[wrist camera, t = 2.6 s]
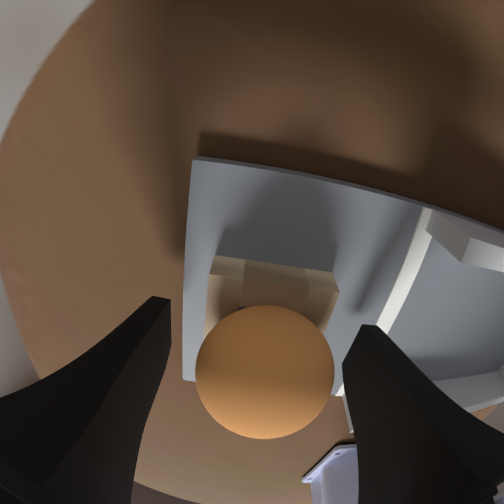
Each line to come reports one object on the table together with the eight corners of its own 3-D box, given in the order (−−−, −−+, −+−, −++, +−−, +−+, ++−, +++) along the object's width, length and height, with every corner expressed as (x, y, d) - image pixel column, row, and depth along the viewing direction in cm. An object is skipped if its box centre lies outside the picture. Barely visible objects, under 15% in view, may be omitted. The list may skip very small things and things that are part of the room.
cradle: (302, 352, 11) (305, 374, 10) (206, 341, 11) (202, 362, 10) (332, 272, 10) (339, 292, 9) (214, 254, 9) (209, 274, 8)
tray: (492, 370, 14) (509, 399, 11) (185, 367, 13) (173, 420, 10) (558, 255, 10) (586, 280, 7) (198, 155, 9) (167, 177, 6)
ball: (304, 369, 11) (315, 459, 7) (202, 357, 10) (185, 449, 7) (338, 287, 9) (374, 389, 5) (210, 269, 9) (181, 374, 5)
